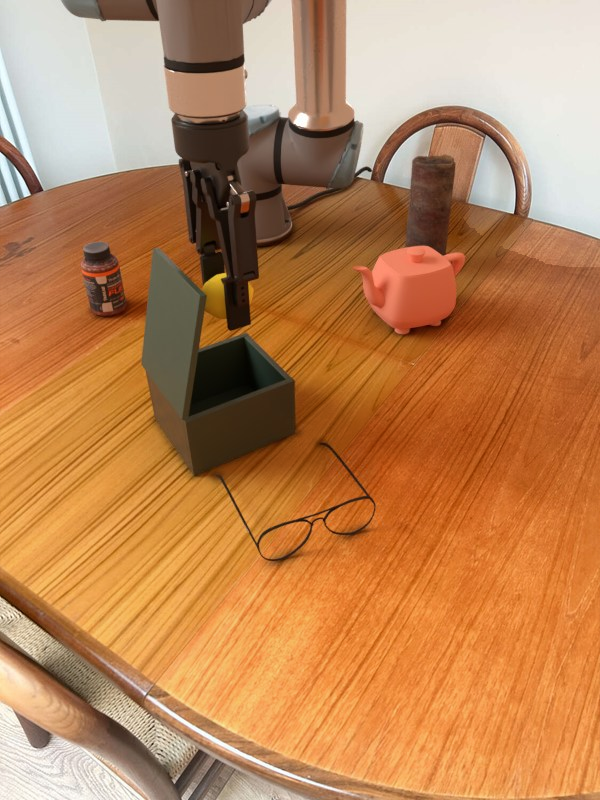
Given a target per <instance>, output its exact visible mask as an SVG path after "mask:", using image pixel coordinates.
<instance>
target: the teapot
mask: <svg viewBox="0 0 600 800" xmlns="http://www.w3.org/2000/svg"><path fill="white" fill-rule="evenodd" d="M451 262H452V263H451ZM465 262H466V255H465V254H464V253H462V252H450V253H446V255H444V256H442V255H441V254H440V253H438V252H437V251H435V250H434V249H432V248H431V247H429V246H413V247H407V248H405V247H401V248H397V249H394V250H390V251H387V252H384V253H382V254H381V255H379V257H378V258H377V260H376V262H375V265H374V266H373V269H372V270H370V268H369V267H367V266H365V265H364V266H363V265H354V266H352V269H353V270H354V271H357V272H359V273H360V274H361V277H362V282H363V283H362V286H363V295H364V297H365V298H366V300H367V302H368V304H369V306H370V307H371V309H372V311H374V313H375V314H376V315H377V316H378V317H379V318H380V319H381V320H382V321H383V322H384V323H385V324H387V326H389V327H391V328H393V329H394V332H395V333H396V334H398V335H407V334H409V333H410V332H411V329H412V328H413V329H414V328H420V327H425V326H428V325H429V326H431V327H432V326H433V327H438V326H440V325H442V320H444V319H446V318H447V317H449V316H450V315H451V314H452V312H454V311H453V310H454V309H455V307H456V303H457V283H456V282H457V281H456V277H457V275H458V274H459V273H460V272H461V270H462V268H463V266H464V265H465Z"/></svg>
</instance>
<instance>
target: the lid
mask: <svg viewBox="0 0 600 800" xmlns="http://www.w3.org/2000/svg"><path fill="white" fill-rule="evenodd" d="M151 255H152V256H151V264H150V273H149V285H148V294H147V304H146V305H147V306H146V313H145V323H144V324H145V325H144V331H143V343H142V353H141V360H140V361H141V362H140V365H141V366H142V368H143V369H144V371H145V370H146V371H145V373H146V372H147V373H148V374H149V376H150V377H151V378H152V380H153V381H154V382H155V384H156V385H157V387H158V388H159V389H160V391H161V392H162V393H163V395H164V396H165V398H166V399H167V400H168V402H169V403H170V404H171V406H172V407H173V408H174V410H175V411H176V413H177V414H178V415H179V417H180V418H181V419H182V420H185V419H188V416H189V410H190V403H191V397H192V390H193V384H194V377H195V371H196V364H197V358H198V351H199V348H200V343H201V337H202V332H203V331H202V329H203V325H204V317H205V312H206V311H205V305H206V299H207V295H206V294H205V293H204V292H203V291H202V288H200V287H199V286H198V285H197V284H196V283H195V282H194V281H193V280H192V279H191V278H190V277H189V276H188V275H187V274H186V273H185V271H183V270H182V269H181V268H180V267H179V266H178V265H177V264H176V263H175V262H174V261H173V260H172V259H171V258H170V257H169V256H168V255H167V254H166V253H165V252H164V250H162V249H161V248H160V247H153V248H152V254H151Z"/></svg>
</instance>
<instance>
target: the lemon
mask: <svg viewBox="0 0 600 800" xmlns="http://www.w3.org/2000/svg"><path fill="white" fill-rule="evenodd" d="M225 277H227V275H226V272H225V273H222V274H217V275H215V276H214V277H212V278H211V279H210V280H209V281H207V282H206V283H205V284H204V286H203V285H202V288H201V290H202V291H203V292H204V293H205V294H206V295H207V299H206V305H205V312H206V313H207V314H209V315H211V316H212V317H214V318H216V319H221V320H227V317H226V306H225V295H224V284H223V283H222V281H221V278H225ZM248 287H249V302H250V305H251V304H252V301H253V298H254V292H255V290H254V287H253V285H252V284H251V283H250V281H249V282H248Z"/></svg>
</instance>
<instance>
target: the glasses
mask: <svg viewBox="0 0 600 800" xmlns="http://www.w3.org/2000/svg"><path fill="white" fill-rule="evenodd" d="M319 444H320V445H322V446H325V447H327V449H329V450H330V452H331V453H332V454H333V455H334V456H335V457H336V458H337V459H338V461H339V462H340V463H341V465H342V466H343V467H344V469H345V470H346V471H347V472H348V474H349V475H350V476H351V478H352V479H353V480H354V481H355V483H356V484H357V485H358V486H359V488H360V489H361V491H362V492H363V493H364V494H365V495H361V496H358V497H354V498H351V499H349V500H345V501H343V502H341V503H338V504H336V505H334V506H332V507H329V508H327V509H323V510H322V511H318V512H315V513H313V514H309V515H307V516H306V515H305V516H303V517H299V518H297V519H291V520H288V521H285V522H282V523H278V524H276V525H273V526H271V527H269V528H267V529H265V530H263V532H261V533H260V535H259V537H258V539H257V541H256V539H255V537H254V535H253V533H252V531H251V529H250V527H249V526H248V523H247V521H246V519H245V518H244V516H243V514H242V512H241V509H240V508H239V506H238V504H237V502H236V500H235V498H234V496H233V494H232V492H231V491H230V489H229V487H228V485H227V483H226V481H225V480H224V478H223V477H222V476H221V475H220V474H215V477H217V478H218V479H219V480H220V482H221V483H222V485H223V487H224V489H225V490H226V492H227V495H228V496H229V498H230V500H231V502H232V504H233V505H234V507H235V509H236V512H237V513H238V515H239V518H240V520H241V521H242V523H243V525H244V527H245V529H246V531H247V533H248V535H249V536H250V538H251V539H252V541H253V543H254V545H255V546H256V549H257V550H258V553H259V555H260V557H261V558H262V559H264V560H266V561H268V562H280V561H283V560H286V559H287V558H289V557H291V556H293V555H294V554H295V553H296V552H298V551H299V550H300V549H301V548H302V547H303V546H305V544H306V543H307V542H308V541H309V539H310V537H311V534H312V533H313V532H312V531H313V526H314V523H315V522H317V521H319V520H322V522H323V525H324V527H325V528H326V529H327V530H328V532H330V533H332V534H334V535H338V536H351V535H355V534H357V533H359V532H361V531H363V530H364V529H365V528H366V527H368V525H370V523H371V522H372V520H373V519H374V516H375V512H376V508H377V507H376V502H375V500H374V498H372V496H370V494H369V493H368V492H367V490H366V489H365V487H364V486H363V485H362V484H361V482H360V481H359V479H358V478H357V476H355V474H354V473H353V471H352V470H351V469H350V467H348V465H347V464H346V463H345V461H344V460H343V459H342V457H341V456H340V455H339V454H338V452H337V451H336V449H334V448H333V447H332V446H331V445H330V444H328V443H327V442H319ZM361 500H369V501H370V502H371V503H372V504H373V511H372V515H371V517H370V519H369V520H368V521H367V522H366V523H365V524H364V525H363V526H361V527H360V528H358V529H356V530H354V531H349V532H339V531H334V530H332V529H330V527H329V526H328V525H327V522H326V520H327V519H328V517H329V516H330V515H331V514H332V513H333V512H334V511H335V510H337V509H339V508H341V507H344V506H346V505H348V504H351V503H354V502H357V501H361ZM323 513H326V514H325V515H324V517H317V518H315V519H313V520H312V521H310V520H309V518H312V517H316V516H318V515H321V514H323ZM294 523H295V524H296V523H308V524H309V530H308V532H307V534H306V536H305V538H304V539H303V541H302V542H301V543H300V544H299V545H298V546H297V547H296V548H294V549H293V551H290V552H289V553H288V554H286V555H284V556H282V557H279V558H268V557H266V556H264V555H263V554H262V552H261V550H260V549H261V548H260V543H261V541H262V539H263V537H265V536H266V535H267V534H269V533H270V532H272V531H274V530H277V529H279V528H282V527H285V526H287V525H291V524H294Z"/></svg>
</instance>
